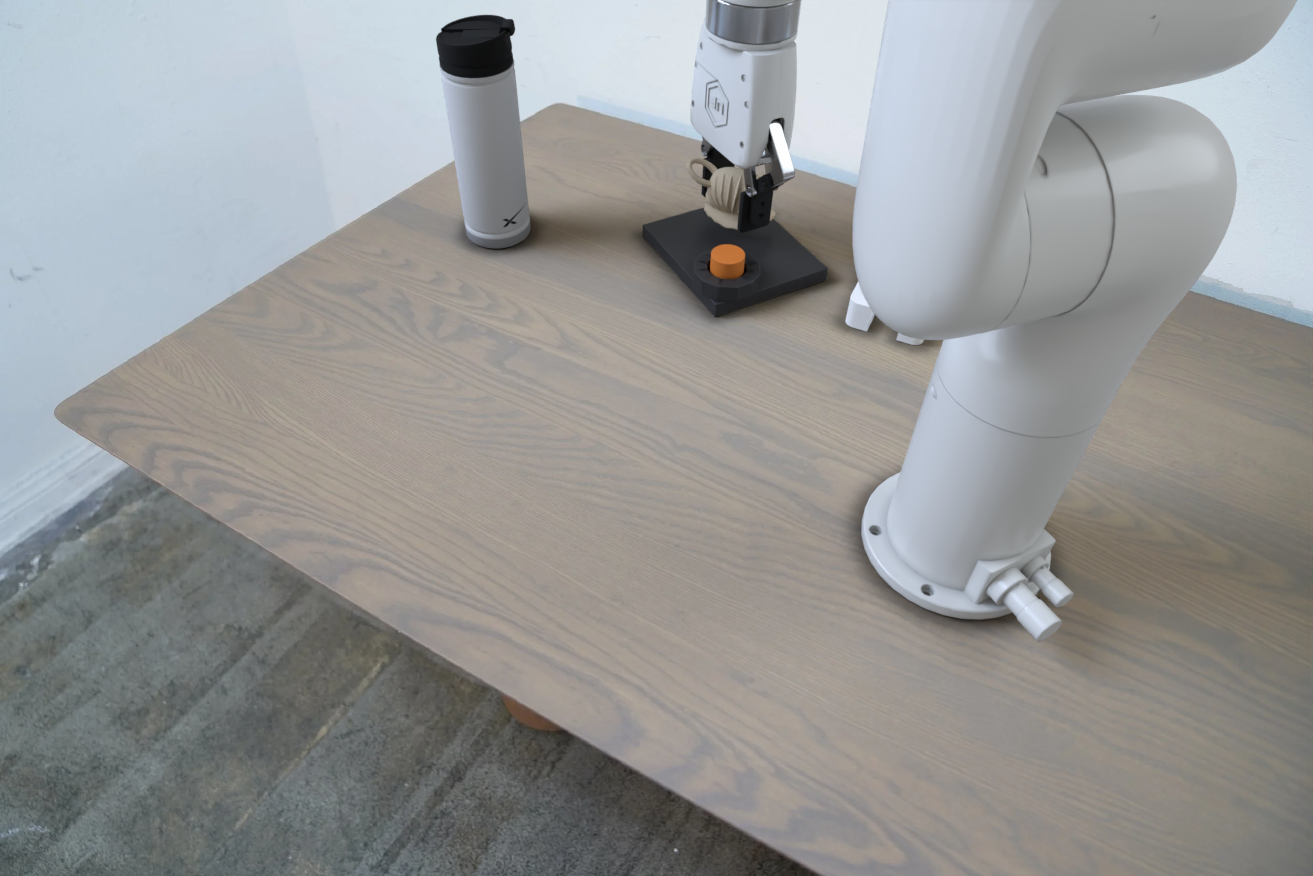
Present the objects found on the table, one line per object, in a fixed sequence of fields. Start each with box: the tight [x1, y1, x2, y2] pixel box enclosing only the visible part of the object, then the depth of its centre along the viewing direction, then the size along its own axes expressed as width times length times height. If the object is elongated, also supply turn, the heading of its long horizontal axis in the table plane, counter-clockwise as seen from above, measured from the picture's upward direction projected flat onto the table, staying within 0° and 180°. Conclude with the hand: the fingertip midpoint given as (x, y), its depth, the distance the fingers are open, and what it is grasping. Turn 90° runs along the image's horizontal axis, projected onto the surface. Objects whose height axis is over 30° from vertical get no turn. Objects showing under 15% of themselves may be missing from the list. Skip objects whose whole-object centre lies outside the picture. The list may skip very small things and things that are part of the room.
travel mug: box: [435, 14, 531, 249], centre depth 81 cm, size 6×7×20 cm
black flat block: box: [641, 207, 829, 318], centre depth 84 cm, size 14×12×3 cm
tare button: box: [710, 244, 745, 279], centre depth 79 cm, size 3×3×2 cm
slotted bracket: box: [845, 281, 925, 346], centre depth 79 cm, size 13×7×8 cm, turn 155°
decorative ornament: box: [686, 157, 777, 230], centre depth 84 cm, size 4×8×5 cm, turn 67°
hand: (734, 208), depth 85 cm, fingers closed on decorative ornament, 5 cm apart
